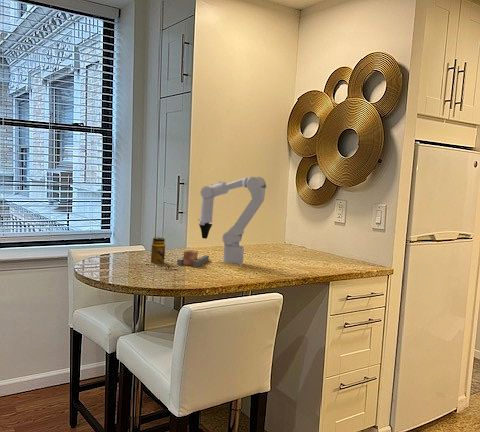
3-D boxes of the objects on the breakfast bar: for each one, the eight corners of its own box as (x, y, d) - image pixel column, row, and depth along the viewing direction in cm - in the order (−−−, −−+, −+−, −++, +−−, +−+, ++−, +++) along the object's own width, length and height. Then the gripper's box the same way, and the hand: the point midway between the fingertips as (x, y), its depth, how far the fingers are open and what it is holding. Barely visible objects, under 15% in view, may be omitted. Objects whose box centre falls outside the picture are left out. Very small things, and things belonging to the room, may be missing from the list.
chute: (208, 262, 232) (208, 255, 232) (197, 268, 215) (197, 261, 214) (189, 259, 234) (189, 253, 234) (176, 266, 217) (177, 259, 216)
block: (196, 263, 221) (197, 250, 221) (193, 265, 217) (194, 252, 216) (186, 262, 222) (187, 249, 222) (183, 264, 218) (183, 251, 217)
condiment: (164, 266, 216) (166, 239, 215) (145, 265, 214) (146, 238, 213) (165, 263, 223) (166, 237, 222) (146, 262, 222) (147, 236, 221)
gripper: (203, 209, 244) (200, 235, 246) (194, 211, 230) (192, 239, 231) (216, 210, 243) (214, 237, 244) (209, 212, 229) (206, 240, 230)
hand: (204, 238), depth 238 cm, fingers closed
